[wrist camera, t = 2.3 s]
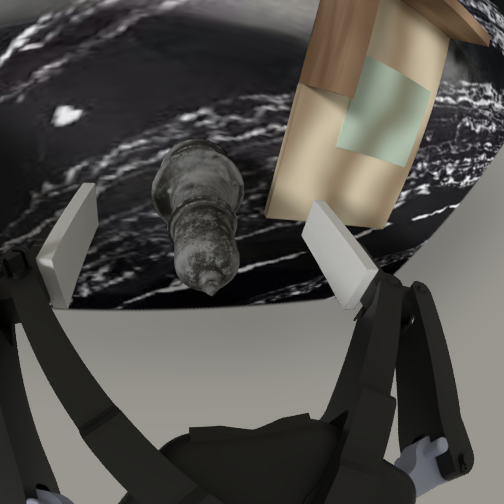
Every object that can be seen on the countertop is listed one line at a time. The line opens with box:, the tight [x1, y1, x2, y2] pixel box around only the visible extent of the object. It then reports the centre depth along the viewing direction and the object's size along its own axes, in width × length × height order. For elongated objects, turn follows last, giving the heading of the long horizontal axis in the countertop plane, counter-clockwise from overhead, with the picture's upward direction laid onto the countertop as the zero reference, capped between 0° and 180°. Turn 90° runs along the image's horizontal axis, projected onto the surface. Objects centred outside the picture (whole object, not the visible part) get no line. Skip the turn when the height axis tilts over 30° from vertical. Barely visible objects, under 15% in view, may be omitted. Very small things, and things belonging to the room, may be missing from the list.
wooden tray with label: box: [264, 0, 490, 229], centre depth 16 cm, size 13×23×6 cm, turn 168°
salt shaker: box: [151, 139, 244, 296], centre depth 15 cm, size 6×6×12 cm
